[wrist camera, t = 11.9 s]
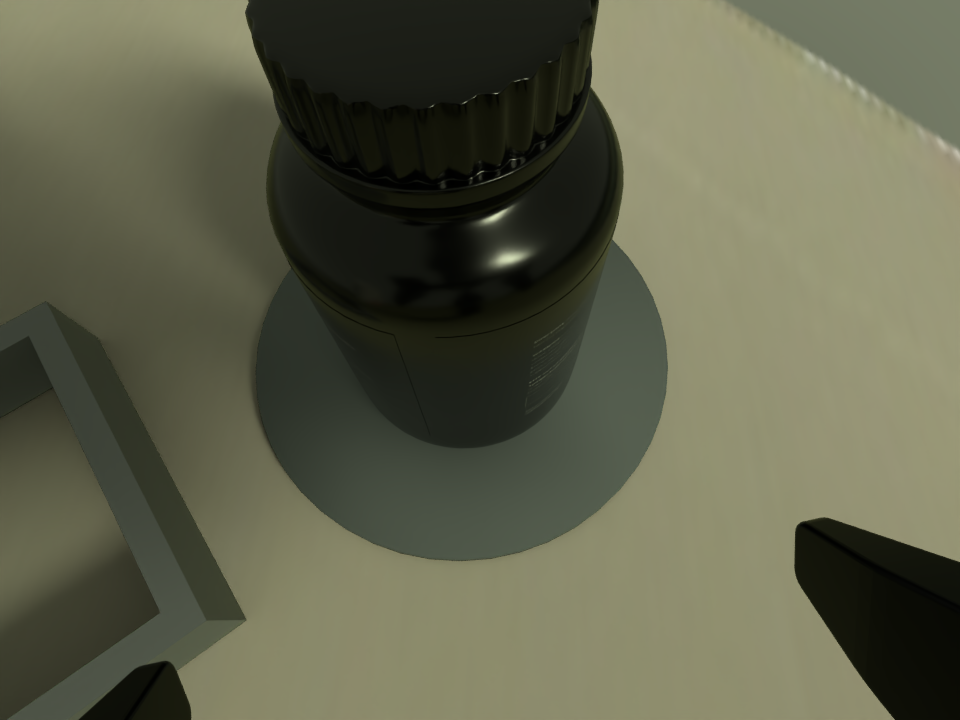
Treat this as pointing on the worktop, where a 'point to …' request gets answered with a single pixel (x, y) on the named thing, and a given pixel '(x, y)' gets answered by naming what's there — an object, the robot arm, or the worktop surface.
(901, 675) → the robot arm
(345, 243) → the supplement bottle
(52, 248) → the worktop surface
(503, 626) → the worktop surface
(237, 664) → the worktop surface
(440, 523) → the rubber mat
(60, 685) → the square grey tray
